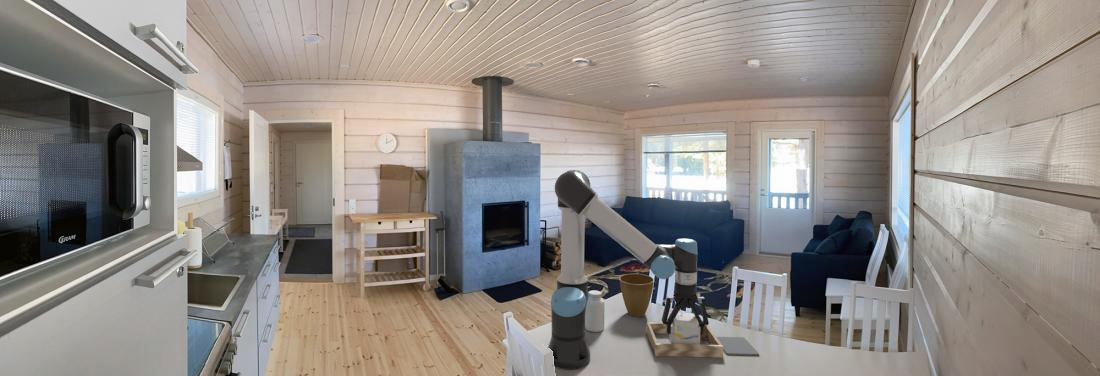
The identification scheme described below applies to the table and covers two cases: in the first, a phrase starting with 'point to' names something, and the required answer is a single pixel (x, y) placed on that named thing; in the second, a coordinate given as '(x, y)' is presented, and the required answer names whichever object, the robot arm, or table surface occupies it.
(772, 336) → the table surface
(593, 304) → the white bottle
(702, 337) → the walnut block
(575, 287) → the robot arm
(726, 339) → the grey mat
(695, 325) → the ink box
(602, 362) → the table surface
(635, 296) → the plant pot
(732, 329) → the table surface
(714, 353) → the frame
